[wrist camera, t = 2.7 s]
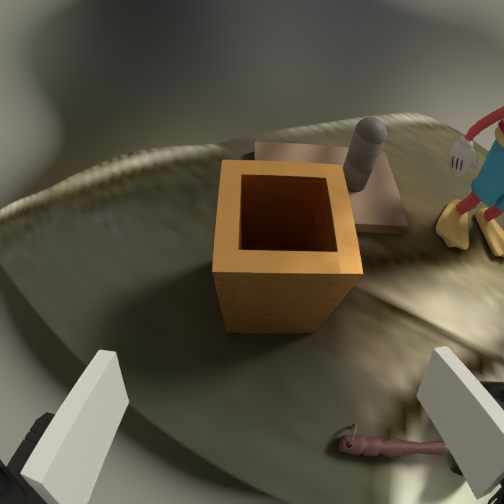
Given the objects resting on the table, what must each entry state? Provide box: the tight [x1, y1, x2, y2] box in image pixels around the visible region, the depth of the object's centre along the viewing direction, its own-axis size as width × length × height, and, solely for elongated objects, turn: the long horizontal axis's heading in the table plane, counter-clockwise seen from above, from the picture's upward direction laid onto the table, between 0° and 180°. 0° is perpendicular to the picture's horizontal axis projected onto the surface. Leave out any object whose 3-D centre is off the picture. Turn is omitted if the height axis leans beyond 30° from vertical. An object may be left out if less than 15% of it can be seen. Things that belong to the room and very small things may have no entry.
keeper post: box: [254, 117, 409, 234], centre depth 28 cm, size 16×11×10 cm
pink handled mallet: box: [339, 381, 504, 476], centre depth 19 cm, size 8×18×8 cm
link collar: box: [212, 160, 363, 333], centre depth 22 cm, size 7×7×12 cm
